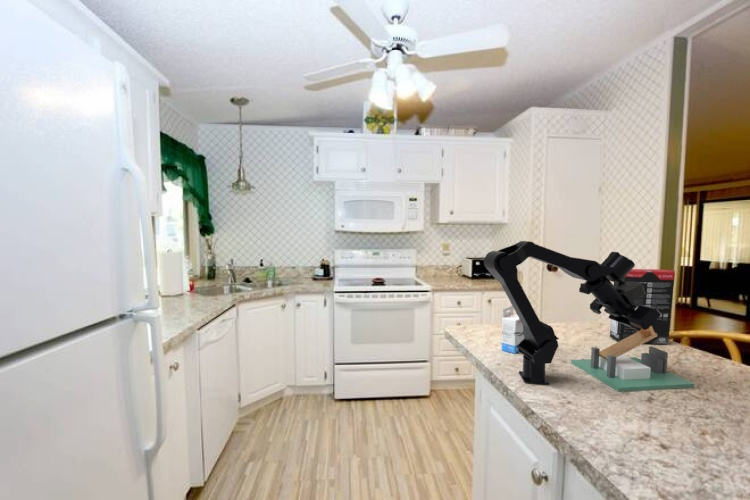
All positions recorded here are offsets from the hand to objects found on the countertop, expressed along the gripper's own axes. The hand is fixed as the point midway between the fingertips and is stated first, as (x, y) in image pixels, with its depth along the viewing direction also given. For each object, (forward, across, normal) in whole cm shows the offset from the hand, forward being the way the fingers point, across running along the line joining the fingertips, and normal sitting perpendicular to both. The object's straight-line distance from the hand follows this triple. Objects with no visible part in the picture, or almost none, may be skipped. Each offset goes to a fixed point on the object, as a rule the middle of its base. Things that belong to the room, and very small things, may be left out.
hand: (639, 329), depth 96 cm
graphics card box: (+27, +24, -8) cm, 37 cm away
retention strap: (+1, 0, +6) cm, 6 cm away
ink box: (-9, +22, +28) cm, 37 cm away
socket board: (+7, 0, +12) cm, 14 cm away
